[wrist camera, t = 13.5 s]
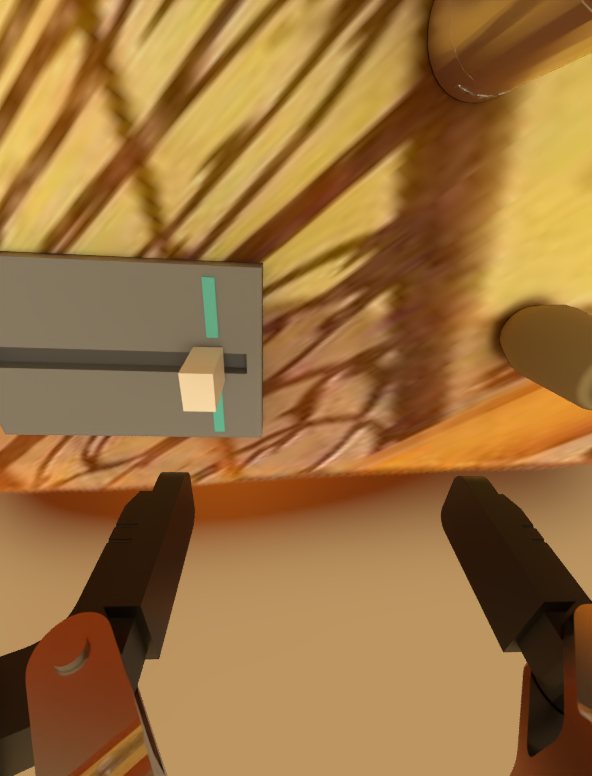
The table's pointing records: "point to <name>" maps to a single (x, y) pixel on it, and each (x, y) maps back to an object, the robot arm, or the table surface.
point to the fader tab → (202, 379)
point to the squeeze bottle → (552, 349)
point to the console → (126, 344)
